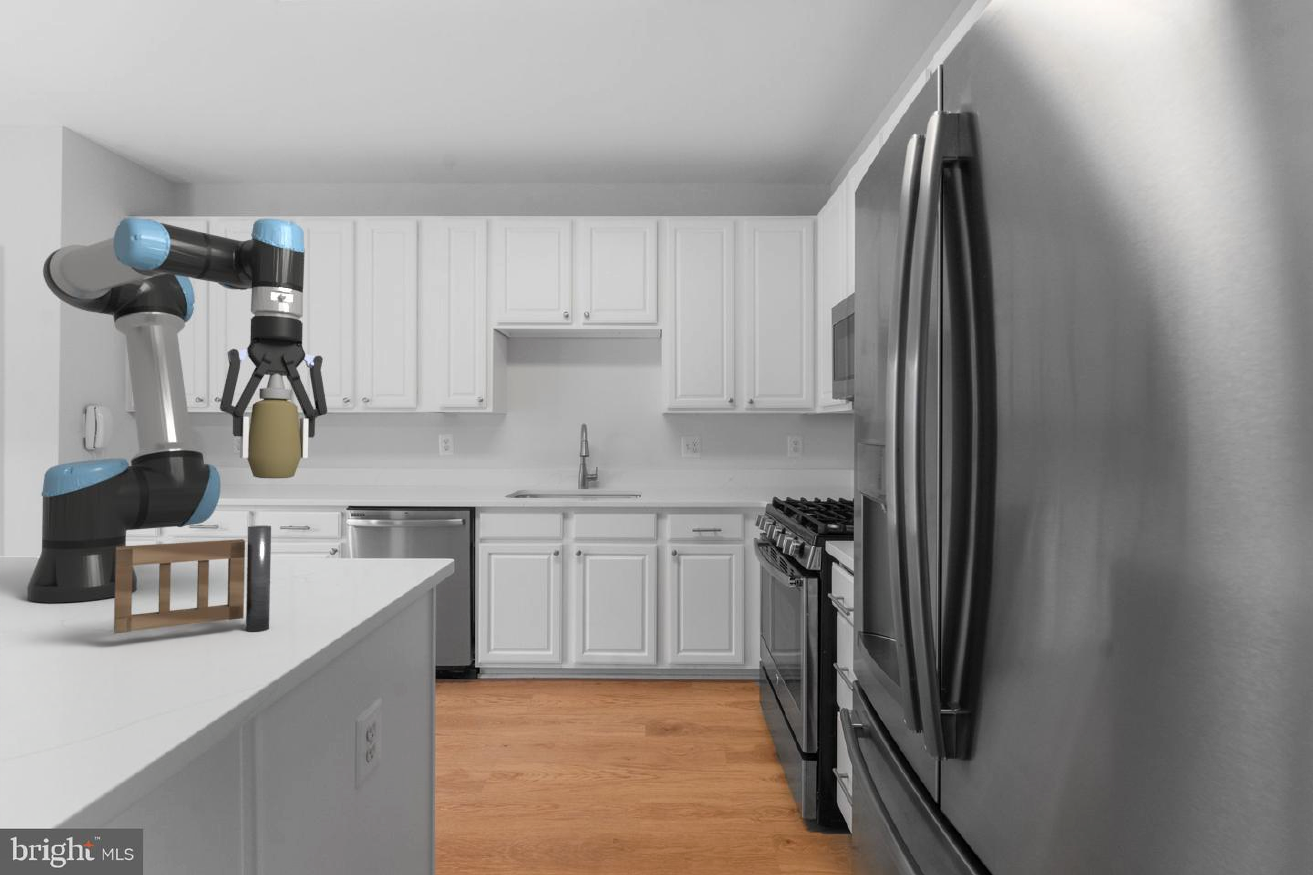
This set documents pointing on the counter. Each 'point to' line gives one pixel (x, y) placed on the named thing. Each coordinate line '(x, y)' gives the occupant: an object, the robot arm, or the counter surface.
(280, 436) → the squeeze bottle
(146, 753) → the counter surface
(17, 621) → the counter surface
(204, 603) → the gate
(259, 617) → the gate post
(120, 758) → the counter surface
